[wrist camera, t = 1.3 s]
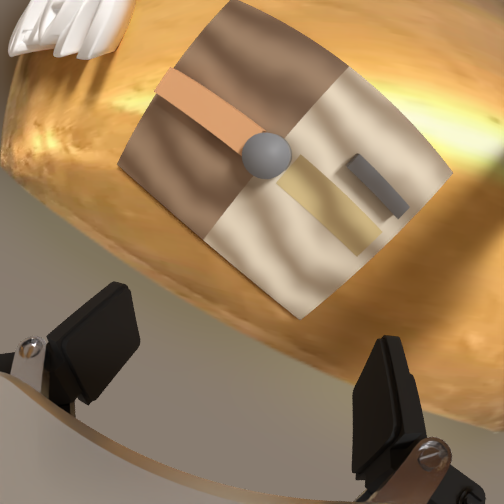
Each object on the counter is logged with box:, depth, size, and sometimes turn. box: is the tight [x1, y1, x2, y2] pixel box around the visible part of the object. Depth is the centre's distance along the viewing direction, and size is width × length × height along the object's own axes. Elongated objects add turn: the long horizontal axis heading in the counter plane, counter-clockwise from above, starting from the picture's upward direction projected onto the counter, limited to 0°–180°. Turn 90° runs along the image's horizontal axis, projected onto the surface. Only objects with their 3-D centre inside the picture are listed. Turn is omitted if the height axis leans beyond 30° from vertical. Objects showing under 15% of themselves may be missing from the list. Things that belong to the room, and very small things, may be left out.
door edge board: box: [117, 0, 453, 320], centre depth 29 cm, size 28×34×3 cm
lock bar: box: [154, 67, 292, 179], centre depth 27 cm, size 18×5×3 cm, turn 52°
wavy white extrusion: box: [8, 0, 136, 60], centre depth 22 cm, size 35×16×11 cm, turn 63°
